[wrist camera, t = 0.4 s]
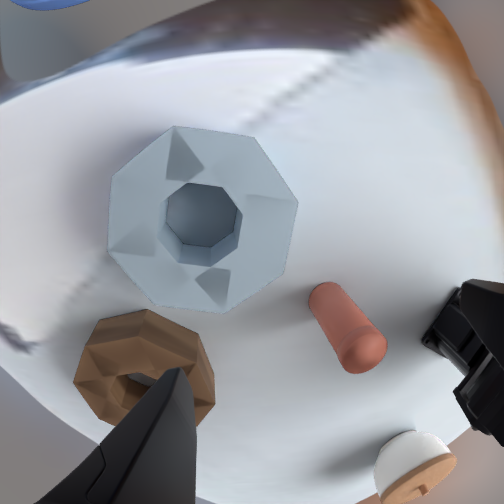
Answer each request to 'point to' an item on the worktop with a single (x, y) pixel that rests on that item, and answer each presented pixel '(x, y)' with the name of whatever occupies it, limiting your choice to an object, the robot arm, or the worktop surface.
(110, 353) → the walnut bead
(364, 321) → the pink rounded cylinder
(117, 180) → the blue bead
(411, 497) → the lidded jar
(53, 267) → the worktop surface
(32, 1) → the water jug
